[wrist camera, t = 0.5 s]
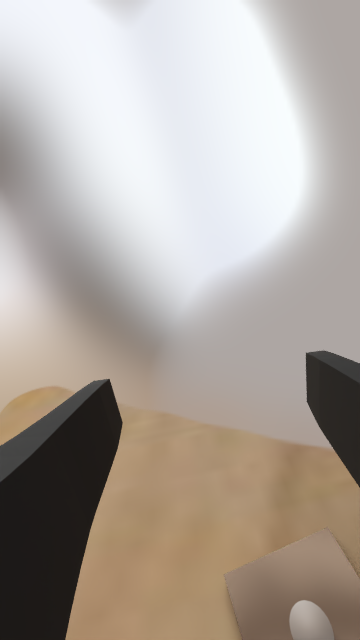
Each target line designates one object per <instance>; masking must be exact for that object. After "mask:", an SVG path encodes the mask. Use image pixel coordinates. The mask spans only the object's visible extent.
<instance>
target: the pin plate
mask: <svg viewBox="0 0 360 640" xmlns="http://www.w3.org/2000/svg"><path fill="white" fill-rule="evenodd" d="M224 577H225V581H226V584H227V588H228V591H229V595H230V598H231V602H232V605H233V609H234V612H235V616H236V619H237V623H238V626H239V630H240V633H241V637H242V640H360V579H359V577H358V575H357V574H356V572H355V570H354V569H353V567H352V566H351V564H350V562H349V561H348V559H347V557H346V556H345V554H344V552H343V551H342V549H341V548H340V546H339V544H338V543H337V541H336V539H335V538H334V536H333V534H332V533H331V531H330V529H329V528H328V527H326V528H324V529H322V530H320V531H318V532H316V533H313V534H311V535H309V536H307V537H305V538H302V539H300V540H298V541H296V542H294V543H291V544H289V545H287V546H285V547H283V548H281V549H278V550H276V551H274V552H272V553H270V554H267V555H265V556H263V557H261V558H259V559H256V560H254V561H252V562H250V563H248V564H245V565H243V566H241V567H239V568H237V569H235V570H232V571H230V572H228V573H226V574H224Z"/></svg>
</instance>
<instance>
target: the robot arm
mask: <svg viewBox="0 0 360 640" xmlns="http://www.w3.org/2000/svg"><path fill="white" fill-rule="evenodd" d="M306 376H307V377H306V381H307V403H308V405H309V407H310V409H311V411H312V413H313V415H314V417H315V419H316V421H317V423H318V425H319V427H320V429H321V430H322V432H323V433H324V435H325V436H326V438H327V439H328V441H329V442H330V444H331V445H332V447H333V449H334V450H335V452H336V453H337V454H338V456H339V457H340V459H341V460H342V462H343V463H344V465H345V466H346V468H347V469H348V471H349V472H350V474H351V475H352V477H353V478H354V480H355V481H356V483H357V484H358V486H359V487H360V363H357V362H354V361H352V360H349V359H347V358H344V357H342V356H339V355H336V354H334V353H331V352H327V351H317V352H309V353H306ZM122 424H123V423H122V419H121V416H120V412H119V409H118V406H117V402H116V399H115V396H114V392H113V389H112V386H111V382H110V379H106V380H98V381H93V382H92V383H90V384H88V385H87V386H85V387H84V388H82V389H81V390H80V391H78V392H77V393H75V394H74V395H73V396H71V397H70V398H69V399H67V400H66V401H65V402H63V403H62V404H61V405H59V406H58V407H57V408H55V409H54V410H53V411H51V412H50V413H48V414H47V415H46V416H44V417H43V418H41V419H40V420H39V421H37V422H36V423H34V424H33V425H31V426H30V427H28V428H27V429H26V430H24V431H23V432H21V433H20V434H18V435H17V436H15V437H14V438H12V439H11V440H9V441H8V442H6V443H4V444H3V445H1V446H0V640H65V638H66V633H67V628H68V623H69V618H70V613H71V609H72V604H73V600H74V596H75V591H76V587H77V582H78V578H79V574H80V569H81V565H82V561H83V557H84V553H85V549H86V545H87V541H88V537H89V533H90V529H91V526H92V522H93V519H94V516H95V513H96V510H97V507H98V504H99V501H100V498H101V495H102V493H103V490H104V487H105V484H106V481H107V478H108V475H109V472H110V470H111V467H112V464H113V461H114V458H115V455H116V452H117V449H118V444H119V439H120V434H121V429H122Z"/></svg>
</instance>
